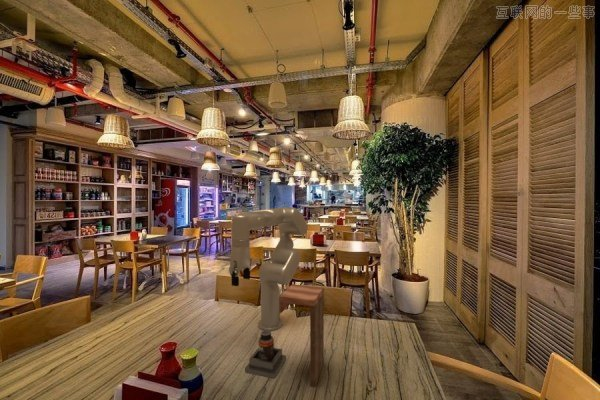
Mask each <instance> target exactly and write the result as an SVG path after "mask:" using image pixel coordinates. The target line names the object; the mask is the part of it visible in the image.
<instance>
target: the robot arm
mask: <svg viewBox="0 0 600 400" xmlns="http://www.w3.org/2000/svg"><path fill="white" fill-rule="evenodd" d="M275 225H278V230H279V231H278V232H279V240H278V243H277V245H276V246H275V248H274V250H273V251H272V253H271V255H270V262H263V263H262V264H261V265H260V267H259V269H258V278H259V283H260V320H259V321H258V322H257V327H258V328H259V329H261V330H262V331H265V330H269V331H274V330H278V329H280V328H282V327H283V325H284V321H283V320H282V319H281V316H280V315H281V314H282V313H279V296H280V295H281V294H280V287H279V285H288V284H289V283H291V281H292V279H293V277H294V276H295V273H296V271H297V269H298V267H299V266H300V262H301V254H300V252H299V251H298V250H297V249H296V248H294V243H295V242H294V241H293V239H292V237H291V236H305V235H306V234H307V232H308V231H309V230H308V223H307V221H306V219H305V217H304V216H303V215H302V213H301V211H300V210H299V209H297V208H296V207H282V206H281V207H276V208H269V209H261V210H252V211H244V212H239V213H238V214H235V215H233V216H232V218H231V249H230V259H229V267H228V271H229V274H230V277H231V286H232V287H238V286H239V285H240V280H239V279H240V276H239V274H240V272H241V271H242V274H243V275H242V276H243V277H242V278H243V280H250V279H251V266H252V260H253V259H252V258H251V249H250V244H251V243H250V237H251V236H250V234H251V233H250V231H251V230H252V231H253V230H254V231H256V230H257V231H258V230H261V229H262V228H264V227H272V226H275ZM239 287H240V286H239Z"/></svg>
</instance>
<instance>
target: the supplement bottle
mask: <svg viewBox="0 0 600 400" xmlns="http://www.w3.org/2000/svg"><path fill="white" fill-rule="evenodd" d="M274 340H275V339H274V337H273V336H272V330H262V331H261V332H260V337H259V338H258V340H257V341H258V348H259V359H261V360H266V361H272V360H273V358H274V348H275V343H274Z"/></svg>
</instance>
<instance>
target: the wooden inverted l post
mask: <svg viewBox="0 0 600 400" xmlns="http://www.w3.org/2000/svg"><path fill="white" fill-rule="evenodd" d="M324 297H325V296H324V287H323V286H313V285H312V286H311V285H305V284H304V285H303V284H293V283H292V284H291V285H290V286H288V288H287V289H285V290H284V292H282V293H281V294H280V296H279V313H281V314H282V313H284V311H285V310H286V309H287V308H288V307H289V306H290V305H291V304H292V305H293V304H294V305H299V306H306V307H307V306H308V307H309V309H310V310H309V315H310V316H309V319H310V321H309V322H310V324H309V326H310V328H309V329H310V331H309V332H310V333H309V335H310V336H309V339H310V346H309V347H310V351H309V352H310V354H309V355H310V358H309V359H310V361H309V362H310V367H309V368H310V370H309V371H310V373H309V375H310V378H309V379H310V388H311V387H312V388H315V387H316V385H317V382H318V379H319V377H320V375H321V371H322V369H323V366H324V363H325V359H324V354H325V353H324V352H325V350H324V349H325V347H324V343H325V342H324V338H325V337H324V335H325V333H324V329H325V326H324V321H325V319H324V313H325V312H324V310H325V308H324V303H325V301H324Z"/></svg>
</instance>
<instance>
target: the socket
mask: <svg viewBox="0 0 600 400" xmlns="http://www.w3.org/2000/svg"><path fill="white" fill-rule="evenodd" d="M248 361H249V362H248V364H247V365H246V366H245V367H244V372H245V373H247V374H251V375H257V376H261V377H266V378H270V379H276V376H277V375H278V374H279V372H280V370H281V368H282V367H283V365H284V364H285V361H287V355H285V354H283V349H282V348H277V347H274V358H273V360H272V361H266V360H261V359H259V347H258V348H257V349H256V350H255V351H254V352H253V353H252V355H251V356H250V357H249V358H248Z"/></svg>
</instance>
